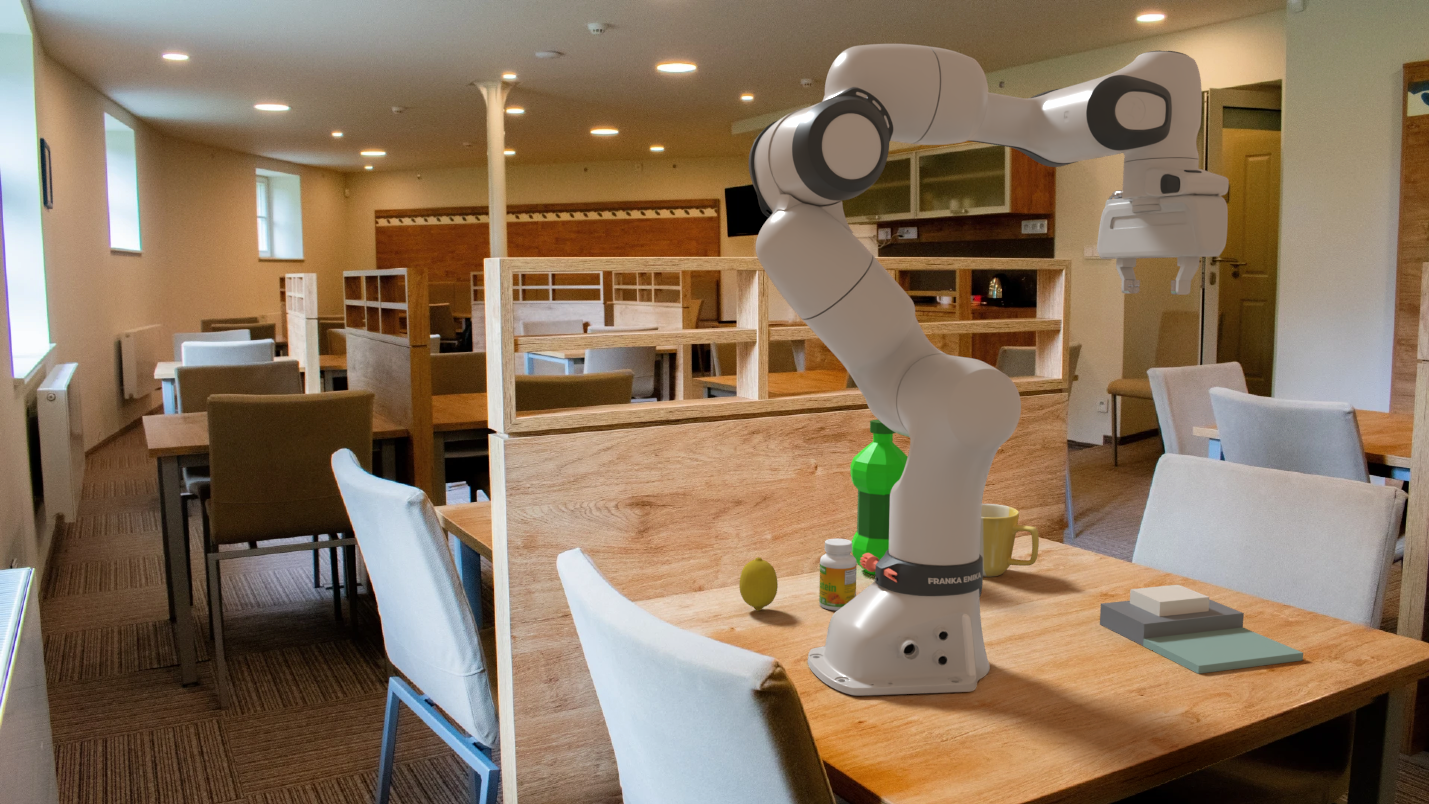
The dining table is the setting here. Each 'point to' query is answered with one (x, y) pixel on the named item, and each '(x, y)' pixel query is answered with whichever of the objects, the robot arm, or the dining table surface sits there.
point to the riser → (1166, 621)
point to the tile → (1169, 600)
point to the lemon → (758, 583)
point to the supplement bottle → (837, 574)
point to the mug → (1002, 539)
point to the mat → (1222, 650)
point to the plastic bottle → (875, 491)
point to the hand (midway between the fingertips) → (1154, 294)
